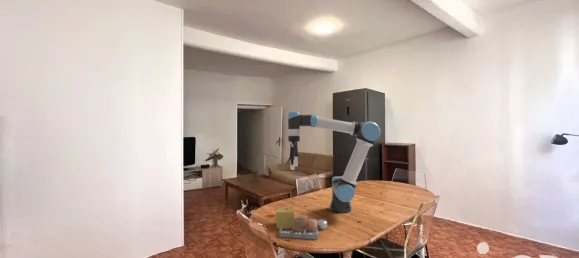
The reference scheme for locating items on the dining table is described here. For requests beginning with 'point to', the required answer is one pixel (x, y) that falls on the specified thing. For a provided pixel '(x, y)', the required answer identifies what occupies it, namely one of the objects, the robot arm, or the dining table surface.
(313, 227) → the pale pink egg
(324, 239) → the dining table surface
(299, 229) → the walnut post
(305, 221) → the brown egg
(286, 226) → the cheese
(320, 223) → the chrome metal ball
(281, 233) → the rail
